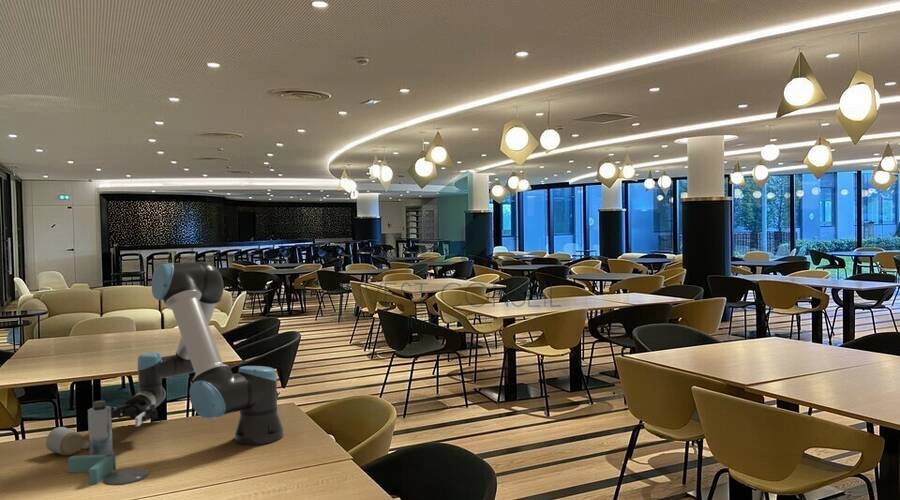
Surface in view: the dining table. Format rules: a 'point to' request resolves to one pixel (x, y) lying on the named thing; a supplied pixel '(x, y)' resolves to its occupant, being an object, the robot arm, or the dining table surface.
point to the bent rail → (93, 466)
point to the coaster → (126, 476)
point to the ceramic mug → (65, 441)
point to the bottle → (100, 429)
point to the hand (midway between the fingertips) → (113, 423)
